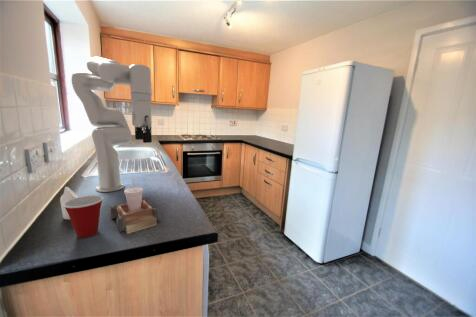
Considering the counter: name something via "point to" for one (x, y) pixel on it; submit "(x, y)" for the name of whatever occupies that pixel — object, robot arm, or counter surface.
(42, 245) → the counter surface
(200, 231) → the counter surface
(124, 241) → the counter surface
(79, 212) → the plastic cup
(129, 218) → the chassis
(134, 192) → the smoothie
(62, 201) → the roll
